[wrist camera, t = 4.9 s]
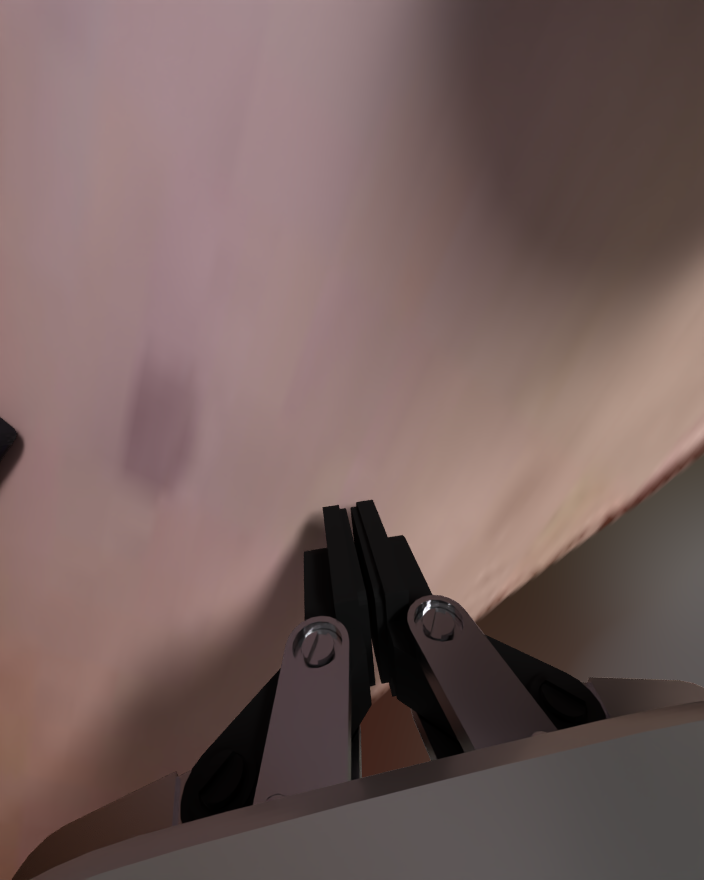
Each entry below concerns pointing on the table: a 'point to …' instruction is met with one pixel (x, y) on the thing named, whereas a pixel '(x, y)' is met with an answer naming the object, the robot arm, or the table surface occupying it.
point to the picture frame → (6, 437)
